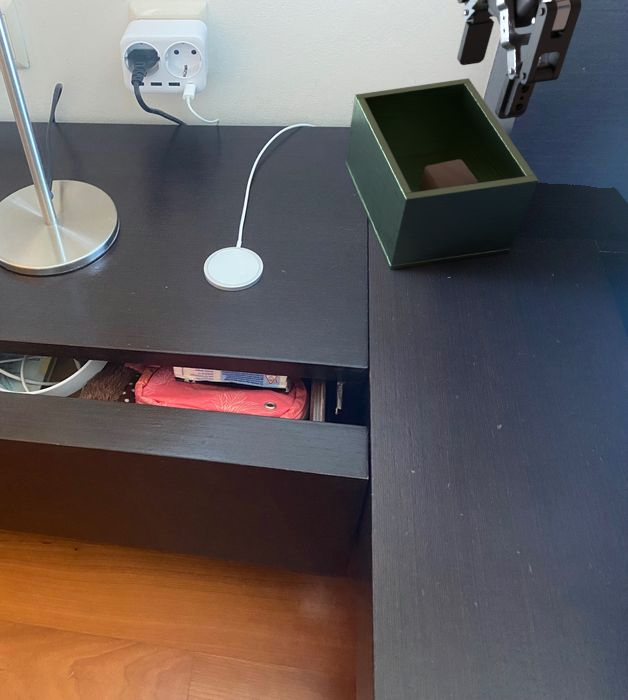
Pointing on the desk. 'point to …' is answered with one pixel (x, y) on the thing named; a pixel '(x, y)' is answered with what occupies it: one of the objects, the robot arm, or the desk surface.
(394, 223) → the waste bin
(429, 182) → the wooden block
